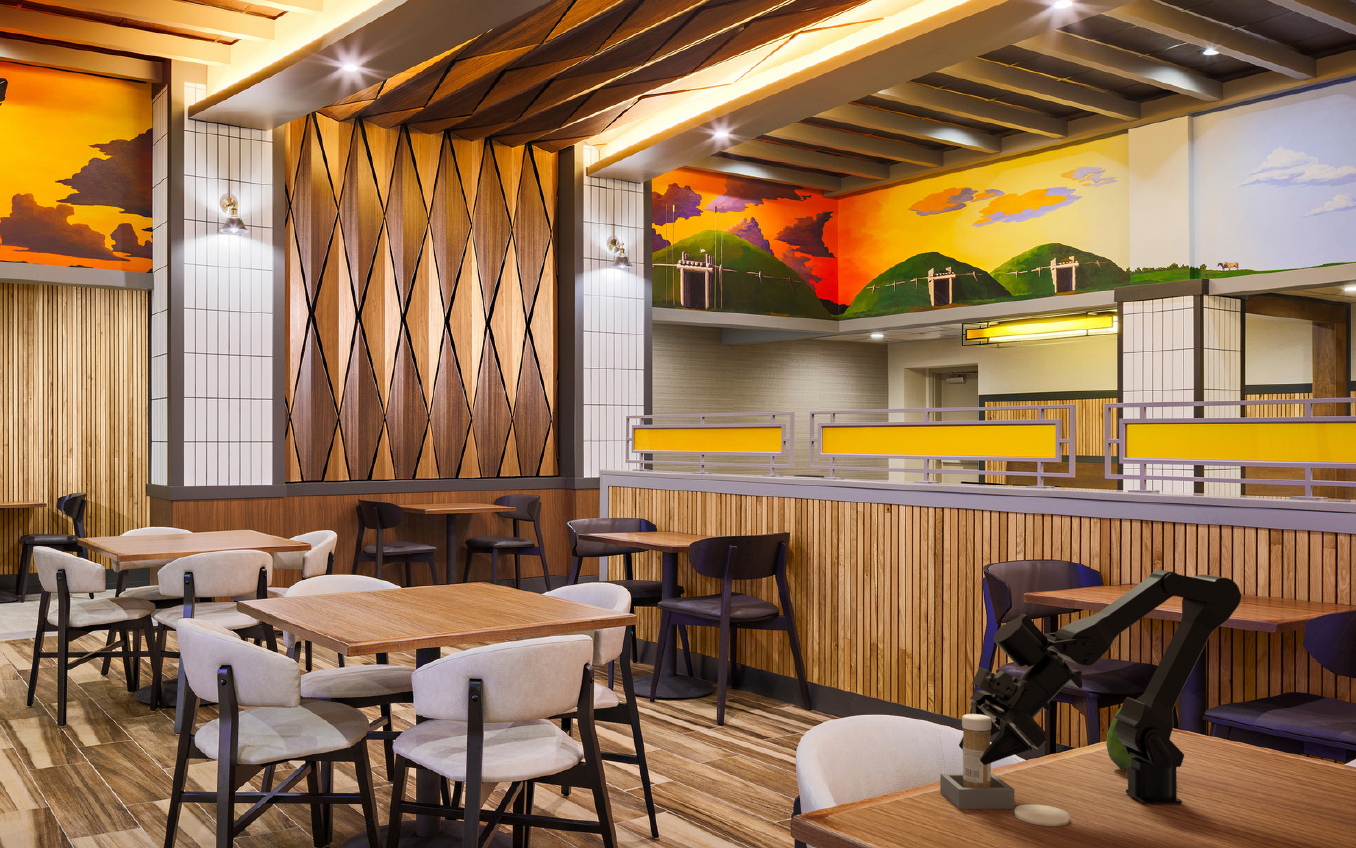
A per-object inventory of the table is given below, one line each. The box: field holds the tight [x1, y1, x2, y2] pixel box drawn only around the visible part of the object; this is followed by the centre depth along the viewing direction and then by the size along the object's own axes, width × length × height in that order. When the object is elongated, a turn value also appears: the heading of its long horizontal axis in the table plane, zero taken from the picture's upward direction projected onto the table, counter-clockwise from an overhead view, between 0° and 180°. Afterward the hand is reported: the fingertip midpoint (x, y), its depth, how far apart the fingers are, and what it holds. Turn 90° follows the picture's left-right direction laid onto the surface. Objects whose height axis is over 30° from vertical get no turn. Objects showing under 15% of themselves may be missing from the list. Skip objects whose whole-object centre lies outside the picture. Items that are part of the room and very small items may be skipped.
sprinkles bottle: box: [961, 713, 992, 788], centre depth 170 cm, size 5×5×14 cm
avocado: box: [1105, 706, 1135, 772], centre depth 190 cm, size 8×8×12 cm
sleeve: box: [939, 773, 1016, 810], centre depth 170 cm, size 9×9×3 cm
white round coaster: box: [1014, 804, 1071, 827], centre depth 162 cm, size 8×8×1 cm
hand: (971, 755), depth 170 cm, fingers open, 9 cm apart
